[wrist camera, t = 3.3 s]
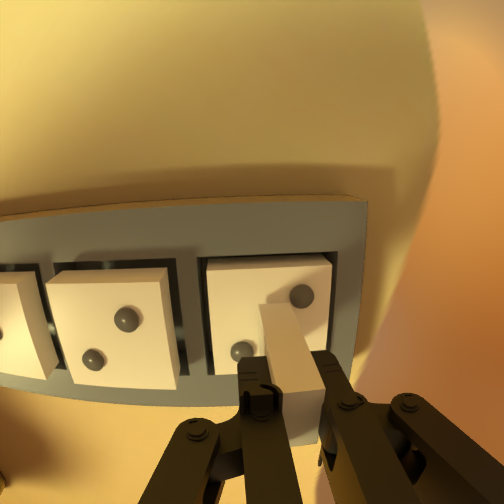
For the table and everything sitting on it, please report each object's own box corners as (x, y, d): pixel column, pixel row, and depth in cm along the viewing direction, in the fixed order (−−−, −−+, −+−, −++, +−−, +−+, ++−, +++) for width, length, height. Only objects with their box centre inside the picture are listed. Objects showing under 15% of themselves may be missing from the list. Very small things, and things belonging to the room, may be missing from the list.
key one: (-5, 353, 16) (-21, 369, 14) (-30, 272, 15) (-50, 284, 13) (59, 361, 17) (44, 382, 15) (34, 271, 15) (14, 285, 13)
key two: (85, 364, 17) (72, 386, 15) (62, 270, 15) (43, 285, 13) (180, 367, 17) (175, 392, 15) (167, 267, 16) (158, 283, 14)
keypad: (8, 364, 20) (-9, 383, 17) (-30, 220, 17) (-55, 229, 14) (333, 368, 22) (346, 394, 19) (347, 194, 18) (367, 201, 15)
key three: (216, 354, 19) (215, 377, 16) (208, 258, 17) (206, 272, 15) (315, 348, 19) (324, 369, 17) (321, 253, 17) (333, 266, 15)
